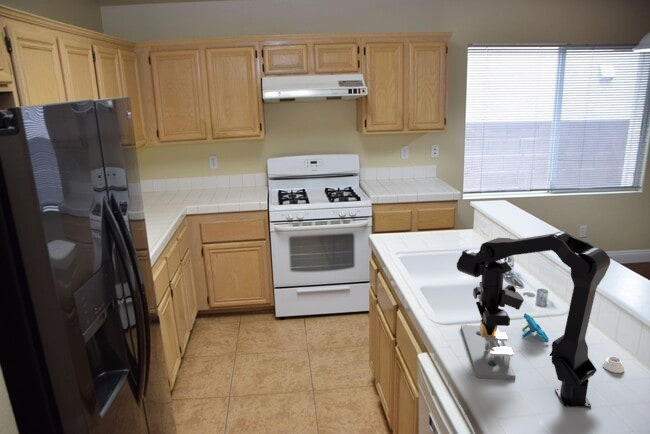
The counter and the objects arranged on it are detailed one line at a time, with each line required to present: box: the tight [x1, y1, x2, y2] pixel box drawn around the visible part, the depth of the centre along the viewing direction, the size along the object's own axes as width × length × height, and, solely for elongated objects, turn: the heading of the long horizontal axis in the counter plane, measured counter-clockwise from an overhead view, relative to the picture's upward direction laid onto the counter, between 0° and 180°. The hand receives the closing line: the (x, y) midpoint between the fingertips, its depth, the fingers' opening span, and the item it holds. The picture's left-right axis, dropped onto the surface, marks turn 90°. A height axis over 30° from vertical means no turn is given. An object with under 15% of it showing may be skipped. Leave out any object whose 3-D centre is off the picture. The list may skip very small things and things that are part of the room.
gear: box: [522, 313, 550, 343], centre depth 144 cm, size 11×6×10 cm
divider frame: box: [488, 328, 514, 367], centre depth 138 cm, size 22×6×4 cm, turn 174°
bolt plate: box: [460, 324, 516, 380], centre depth 137 cm, size 26×10×1 cm, turn 174°
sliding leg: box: [479, 319, 508, 350], centre depth 134 cm, size 3×7×9 cm, turn 84°
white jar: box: [602, 355, 625, 374], centre depth 128 cm, size 5×3×5 cm
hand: (488, 331), depth 134 cm, fingers closed on sliding leg, 3 cm apart
